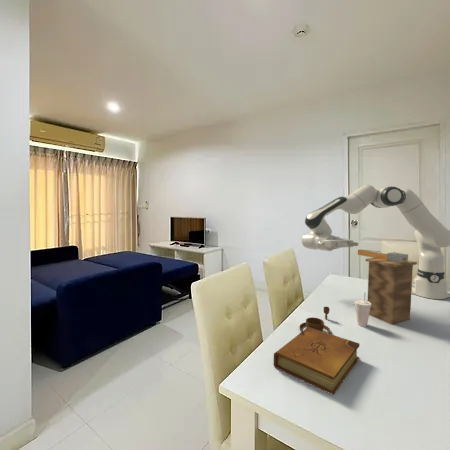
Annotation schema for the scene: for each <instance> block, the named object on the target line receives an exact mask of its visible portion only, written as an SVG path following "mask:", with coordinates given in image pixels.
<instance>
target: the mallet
mask: <svg viewBox="0 0 450 450" xmlns="http://www.w3.org/2000/svg"><path fill="white" fill-rule="evenodd" d="M357 255H358V256H364V257H366V258H367V257H368V258H377V259H382V260H387V261H389V262H394V263H399V264H402V263H408V261H409V254H408V253H402V252H401V253H400V252H387V253H383V252H377V251H372V250H365V249H357Z"/></svg>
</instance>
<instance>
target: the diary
mask: <svg viewBox="0 0 450 450" xmlns="http://www.w3.org/2000/svg"><path fill="white" fill-rule="evenodd" d="M359 347H360V342H356V341H353V340H351V339H350V340H349V339H347V338H343V337H340V336H337V335H334V334H332V333H330V334H329V333H328V332H325V331H319V330H316V329H313V328H310V327H308V328H307V327H306V328H304V330H303V331H302V332H301V331H300V332H299V334H297V335H296V336H294V337H293V338H292V339H290V340H289V341H288V342H287V343H286V344H285V345H283V346H282V347H281V348H279V349H278V350H277V351H275V352H274V353H273V367H274V368H276V369H278V370H280V371H281V372H284V373H287V374H288V375H291V376H293V377H294V378H297V379H299V380H300V381H303V382H305V383H308V384H310V385H311V384H312V385H311V386H313V385H314V386H313V387H316V388H318V389H320V388H321V389H320V390H322V389H323V390H322V391H324V390H325V391H324V392H326V391H327V392H326V393H328V392H329V394H330V393H332V394H333V395H332V394H331V395H332V396H334V395H335V394H336V392H337V391H338V389H339V388H340V386H341V385H342V383H343V382H344V381H343V380H345V379H346V378H347V376H348V375H349V374H350V372H351V370H352V369H353V368H354V366H355V365H356V363H357V362H358V360H359V359H360V357H359V356H357V354H358V352H357V350H358V349H359ZM352 367H353V368H352ZM347 374H348V375H347ZM345 377H346V378H345ZM340 384H341V385H340ZM338 387H339V388H338ZM336 390H337V391H336ZM335 391H336V392H335Z"/></svg>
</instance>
